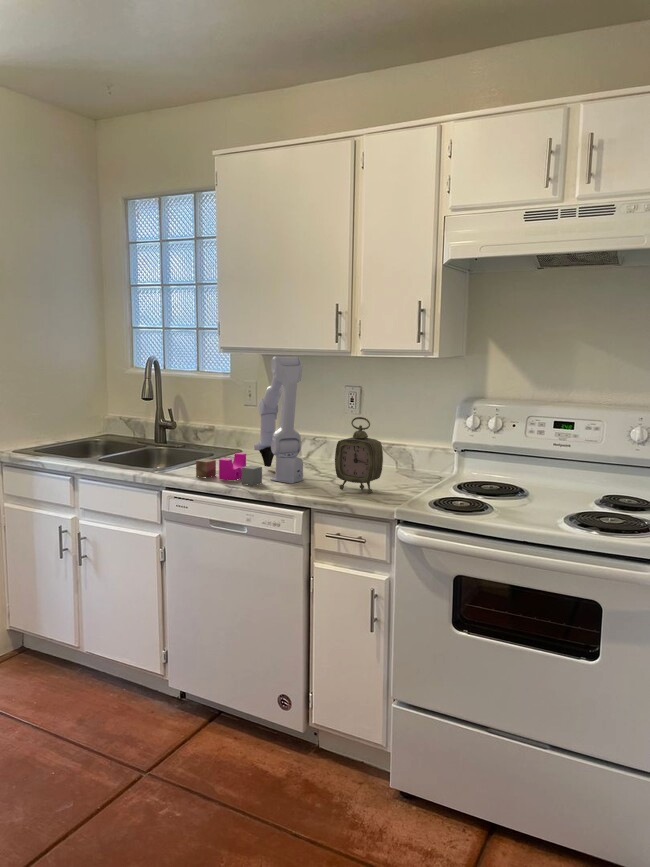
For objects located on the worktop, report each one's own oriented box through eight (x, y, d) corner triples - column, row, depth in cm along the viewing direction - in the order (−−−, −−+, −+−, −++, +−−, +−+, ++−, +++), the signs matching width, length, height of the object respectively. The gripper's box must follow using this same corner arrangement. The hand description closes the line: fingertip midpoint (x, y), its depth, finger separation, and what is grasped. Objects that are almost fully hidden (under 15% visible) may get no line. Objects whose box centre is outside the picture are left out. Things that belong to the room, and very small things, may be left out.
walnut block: (215, 476, 243) (215, 460, 242) (206, 478, 239) (206, 462, 238) (205, 474, 246) (205, 458, 245) (196, 476, 242) (196, 460, 241)
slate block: (261, 483, 233) (262, 466, 232) (253, 486, 228) (253, 469, 228) (250, 481, 235) (250, 465, 234) (241, 484, 231) (241, 467, 230)
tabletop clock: (334, 489, 226) (335, 416, 222) (347, 484, 233) (348, 414, 230) (372, 495, 218) (374, 420, 215) (384, 490, 226) (386, 417, 222)
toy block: (235, 481, 236) (235, 461, 235) (219, 480, 238) (219, 459, 236) (252, 473, 250) (252, 454, 249) (236, 472, 252) (236, 452, 251)
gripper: (270, 428, 262) (270, 462, 264) (247, 432, 250) (247, 468, 252) (285, 430, 259) (284, 464, 261) (263, 434, 246) (262, 470, 248)
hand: (267, 466), depth 256 cm, fingers closed
